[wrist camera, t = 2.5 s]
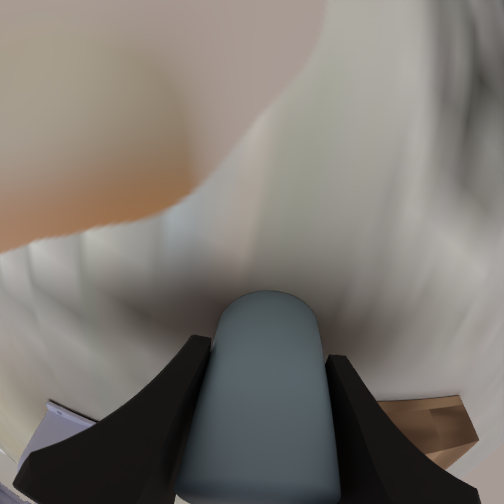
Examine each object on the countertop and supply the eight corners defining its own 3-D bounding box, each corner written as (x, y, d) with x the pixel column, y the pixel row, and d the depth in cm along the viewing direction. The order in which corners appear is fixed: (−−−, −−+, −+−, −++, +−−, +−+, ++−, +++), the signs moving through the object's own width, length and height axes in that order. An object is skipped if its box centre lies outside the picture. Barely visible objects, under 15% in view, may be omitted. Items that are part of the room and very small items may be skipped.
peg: (215, 359, 12) (179, 506, 6) (222, 282, 10) (166, 462, 4) (304, 372, 12) (311, 519, 6) (330, 299, 10) (370, 478, 4)
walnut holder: (243, 476, 18) (239, 516, 14) (273, 396, 13) (271, 462, 9) (379, 476, 18) (384, 510, 14) (459, 395, 13) (479, 440, 9)
